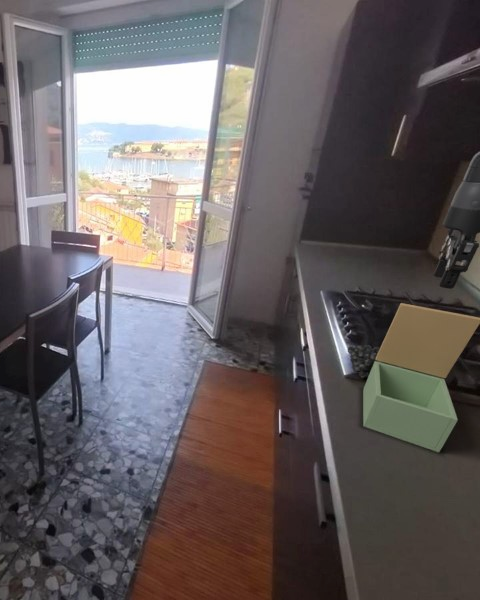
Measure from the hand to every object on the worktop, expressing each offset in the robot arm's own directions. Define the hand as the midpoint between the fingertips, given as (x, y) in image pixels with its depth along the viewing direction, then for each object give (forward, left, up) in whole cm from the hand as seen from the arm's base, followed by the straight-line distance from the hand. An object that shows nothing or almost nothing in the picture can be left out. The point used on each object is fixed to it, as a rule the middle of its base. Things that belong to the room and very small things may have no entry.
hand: (442, 281), depth 78 cm
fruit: (+2, -9, -30) cm, 31 cm away
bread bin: (+6, +10, -30) cm, 32 cm away
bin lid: (+3, +5, -12) cm, 14 cm away
